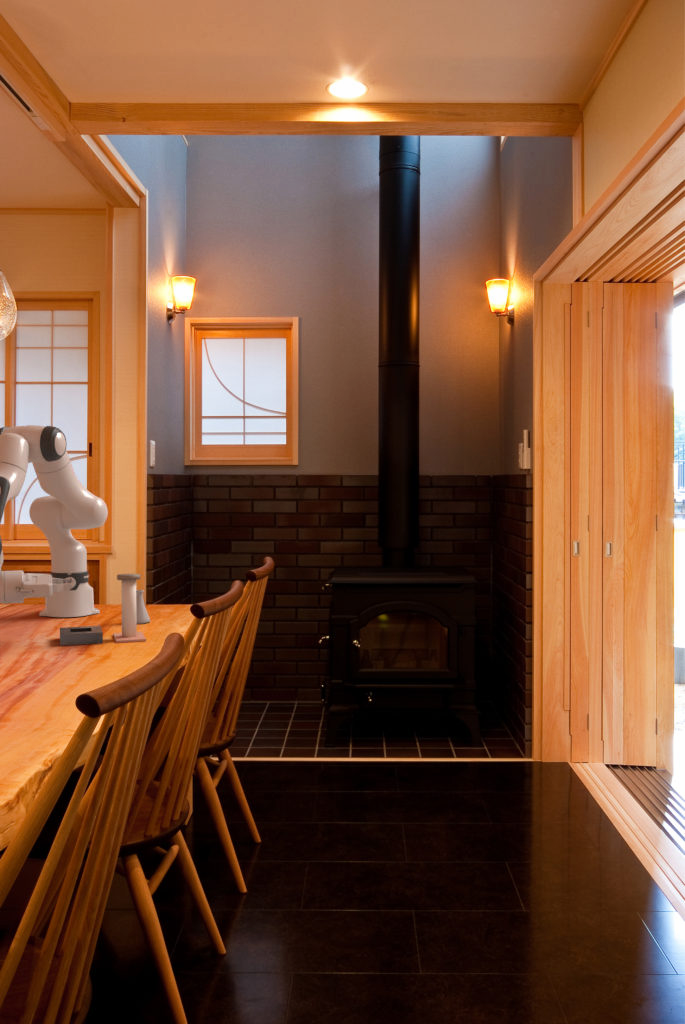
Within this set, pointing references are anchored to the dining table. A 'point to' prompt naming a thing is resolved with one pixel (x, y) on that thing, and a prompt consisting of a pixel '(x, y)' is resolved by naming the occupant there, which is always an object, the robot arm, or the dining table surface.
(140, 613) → the flask
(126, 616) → the peg
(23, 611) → the dining table surface
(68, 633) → the eye block
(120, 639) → the pad
